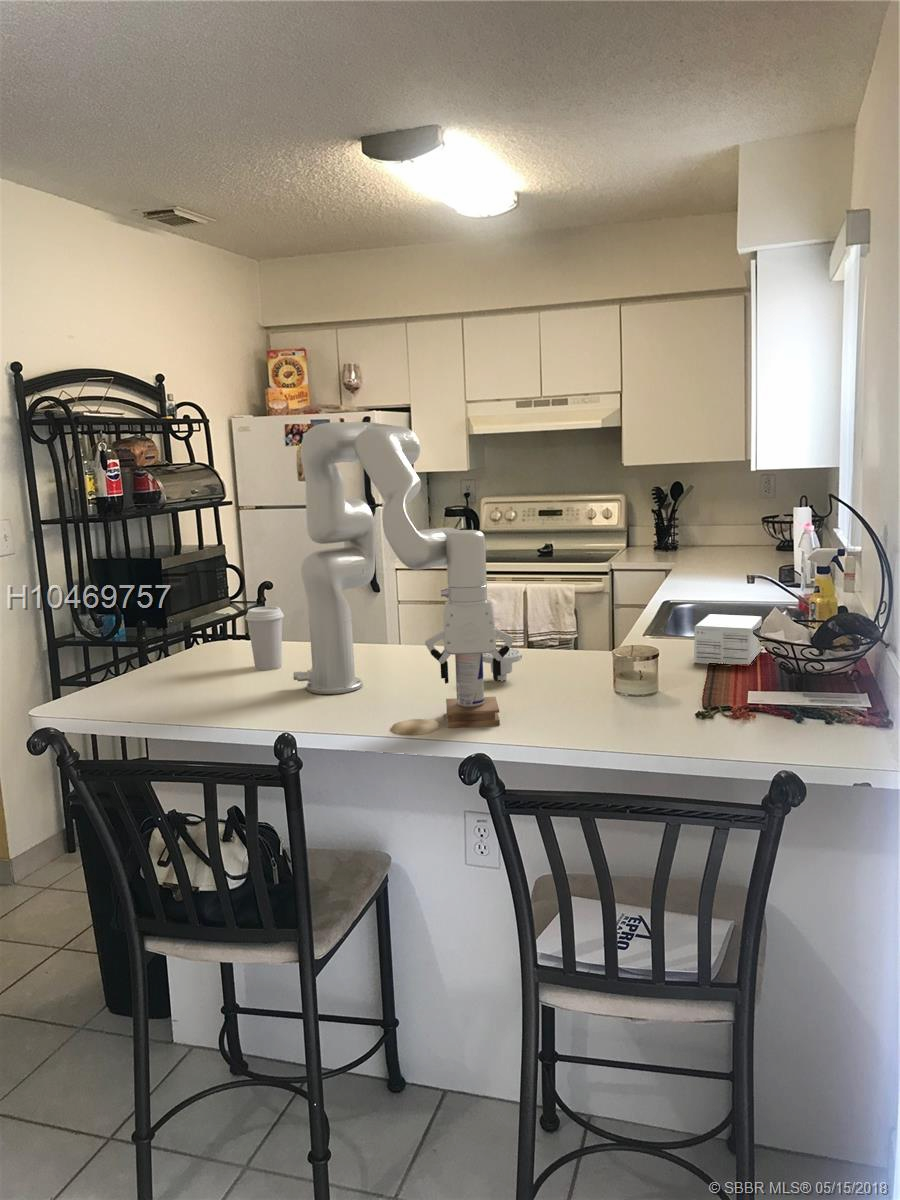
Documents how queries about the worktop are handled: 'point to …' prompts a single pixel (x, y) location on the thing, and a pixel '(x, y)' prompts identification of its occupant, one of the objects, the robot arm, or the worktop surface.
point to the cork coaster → (415, 727)
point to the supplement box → (726, 639)
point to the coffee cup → (266, 636)
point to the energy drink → (469, 680)
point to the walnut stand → (472, 714)
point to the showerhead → (504, 662)
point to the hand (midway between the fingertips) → (471, 680)
